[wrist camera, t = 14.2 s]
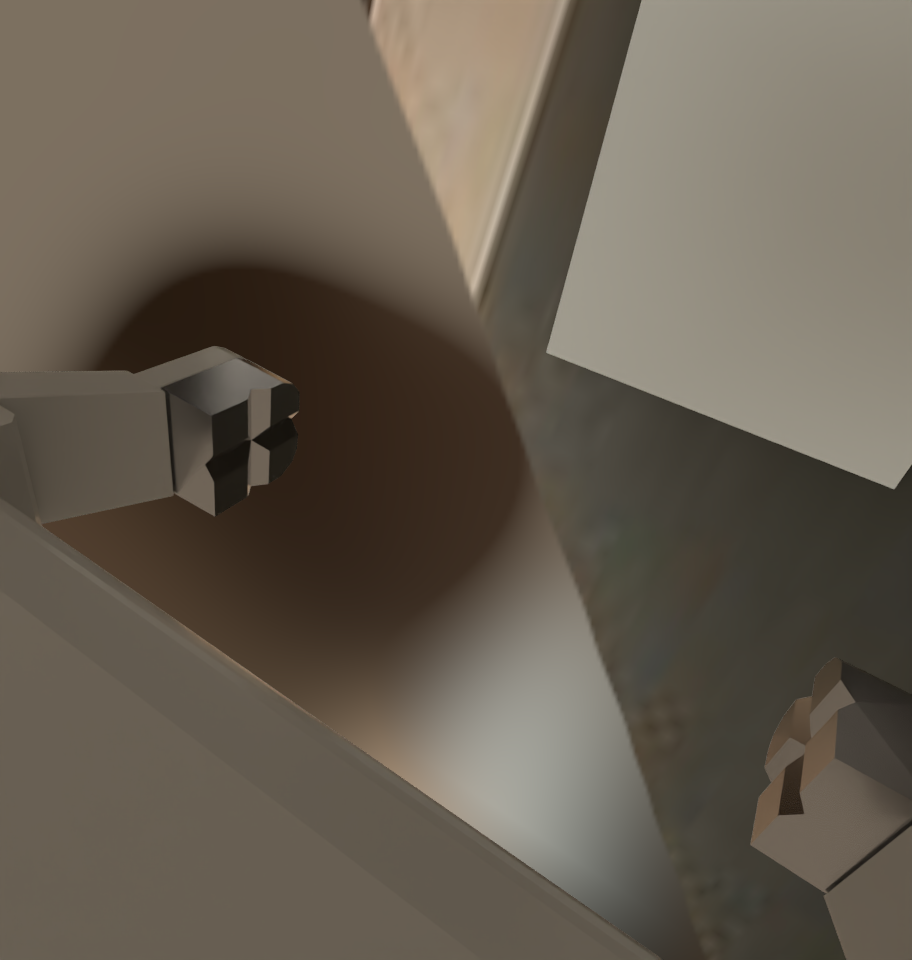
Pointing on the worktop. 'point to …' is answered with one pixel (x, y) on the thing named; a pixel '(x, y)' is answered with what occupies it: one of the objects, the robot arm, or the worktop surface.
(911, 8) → the mat
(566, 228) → the worktop surface
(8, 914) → the robot arm
